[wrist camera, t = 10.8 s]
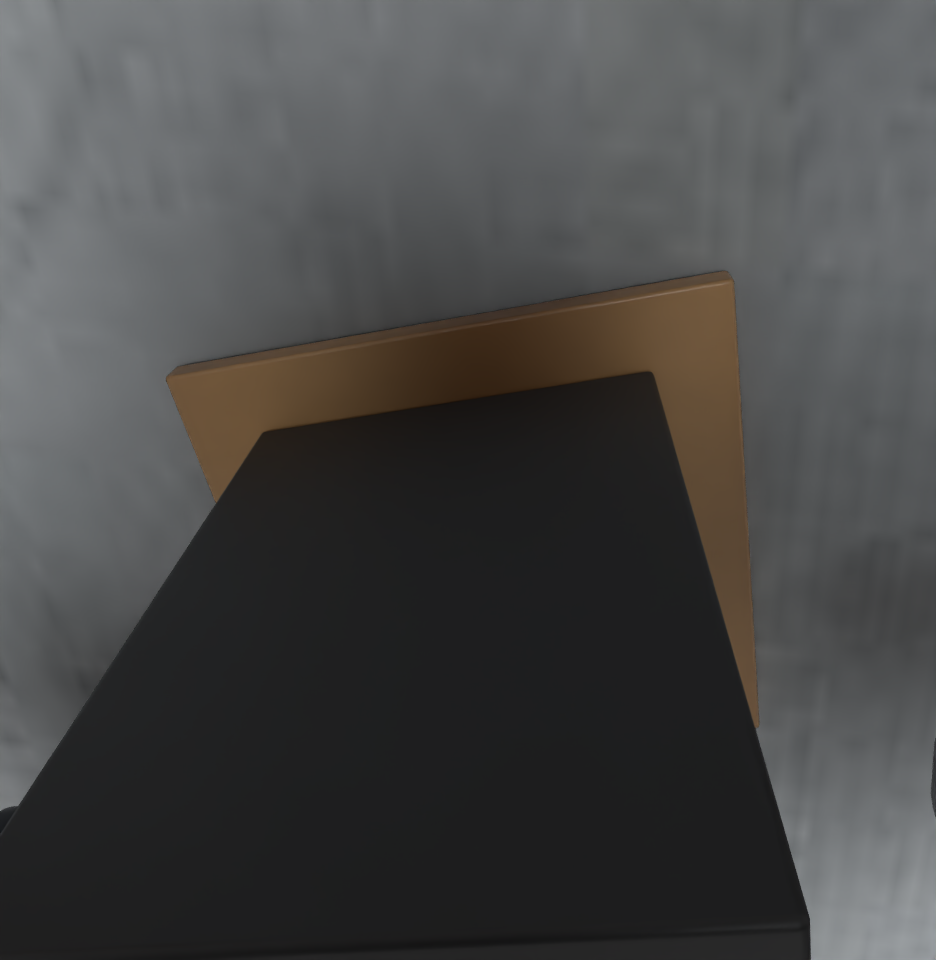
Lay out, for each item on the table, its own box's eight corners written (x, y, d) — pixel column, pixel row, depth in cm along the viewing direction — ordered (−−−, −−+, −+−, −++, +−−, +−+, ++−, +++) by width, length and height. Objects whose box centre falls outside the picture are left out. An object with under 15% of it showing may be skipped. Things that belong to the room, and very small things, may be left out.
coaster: (728, 269, 10) (734, 278, 10) (754, 709, 13) (760, 729, 13) (175, 366, 11) (163, 377, 11) (326, 748, 14) (321, 766, 14)
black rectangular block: (652, 368, 10) (814, 923, 4) (687, 681, 12) (820, 1329, 6) (261, 430, 11) (-95, 967, 5) (362, 713, 13) (207, 1312, 7)
